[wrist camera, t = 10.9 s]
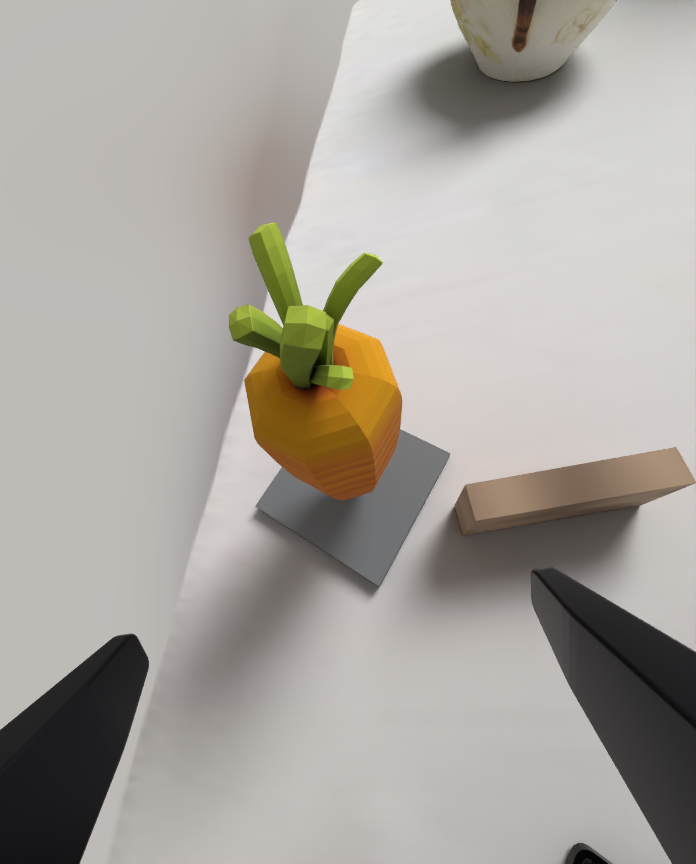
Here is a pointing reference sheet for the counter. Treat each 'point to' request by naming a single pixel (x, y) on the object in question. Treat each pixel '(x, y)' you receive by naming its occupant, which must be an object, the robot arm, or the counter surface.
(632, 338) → the counter surface
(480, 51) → the sugar bowl
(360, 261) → the carrot
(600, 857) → the robot arm
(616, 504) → the walnut block
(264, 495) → the charcoal mat
